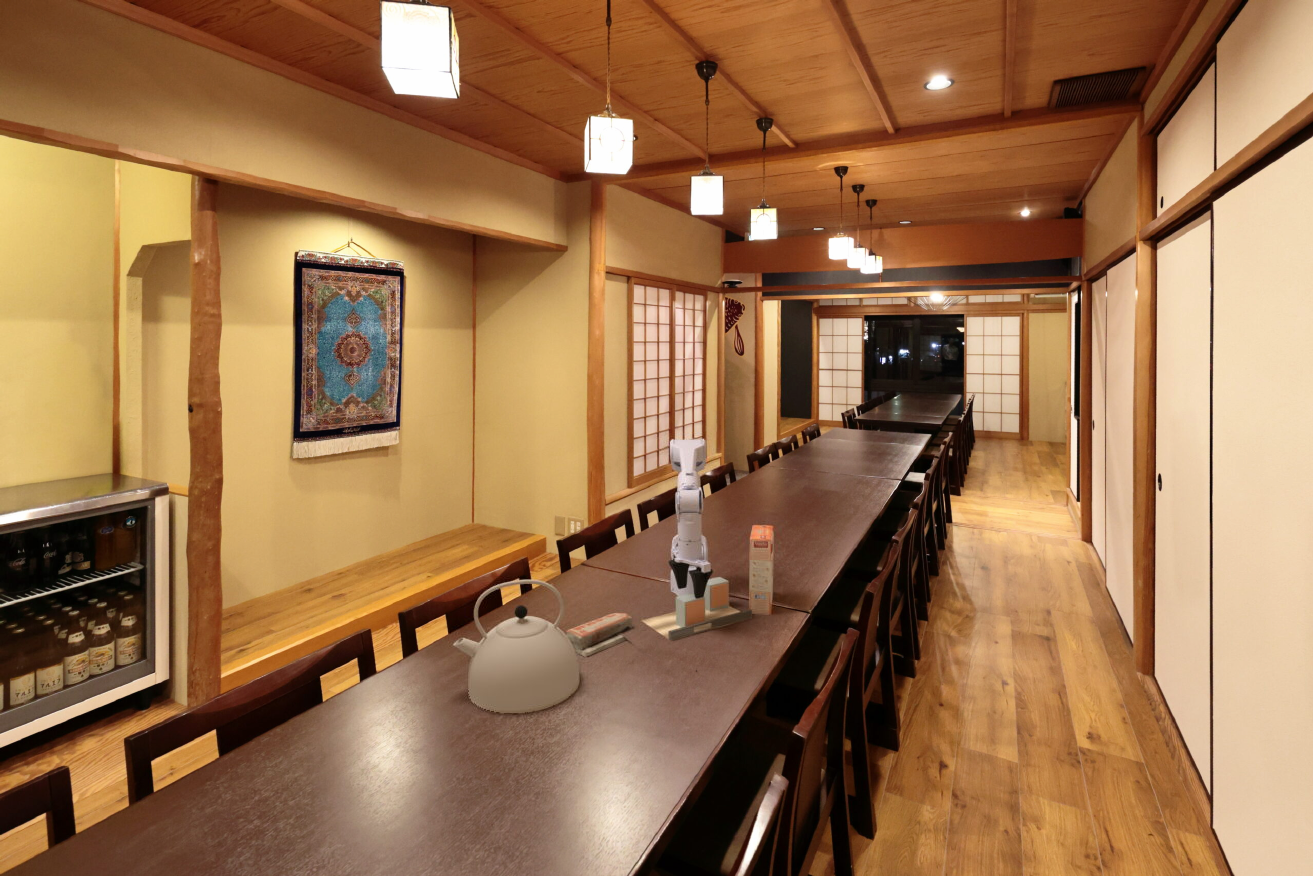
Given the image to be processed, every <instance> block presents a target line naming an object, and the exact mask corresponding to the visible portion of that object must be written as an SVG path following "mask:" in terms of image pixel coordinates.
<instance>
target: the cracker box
mask: <svg viewBox="0 0 1313 876" xmlns="http://www.w3.org/2000/svg"><path fill="white" fill-rule="evenodd" d="M774 536H775V535H774V526H773V525H769V524H764V525H760V524H754V525H752V528H751V533H750V536H749V575H748V577H749V578H748V579H749V583H748V585H749V587H748V588H749V591H748V593H749V595H748V597H749V598H748V599H749V600H748V601H749V602H748V609H751V610H752V615H766V616H767V615H770V616H771V615H772V610H773V599H774V561H775V560H774V555H775V554H774V553H775V552H774V549H775V547H774V545H775V543H774V541H775V540H774V538H775V537H774Z"/></svg>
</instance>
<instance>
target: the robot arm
mask: <svg viewBox="0 0 1313 876" xmlns="http://www.w3.org/2000/svg"><path fill="white" fill-rule="evenodd" d="M669 455H670V456H669V458H670V466H671V469H672V470H673V471H675V472H677V473H678V476H677V479H676V480H677V488H676V490H677V491H676V492H675V514H676V521H677V534H676V535H675V536H674V537H673V538H672V541H671V549H670V557H671V560H668V565H669V566H670V568H671V570H670V592H672V593H674V594H675V595H676V597H678V596H682V595H686V594H690V593H694V595H695V598H696V599H698V598H702V597H704V593H705V589H706V585H707V582H708V580H709V579H711V576H712V574H713V573H714V570H713V569H712V568H711V563H710V562H709V552H708V551H709V549H708V539H707V537H705V536H704V535H703V534H702V529H703V528H702V513H703V511H704V494H703V489H702V487H701V476H700V474H699V472H702V471H703V470H705V466H706V463H707V462H706V461H707V440H706V439H705V438H702V439H673V438H672V439H671V440H669Z"/></svg>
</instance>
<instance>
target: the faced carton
mask: <svg viewBox="0 0 1313 876" xmlns="http://www.w3.org/2000/svg"><path fill="white" fill-rule="evenodd" d="M729 584H730V581H729V580H727V579H725V578H723V577H721V576H718V577H711V578H709V580H708V582H707V585H706V589H705V593H704V597H705V609H706V610H708V611H710V612H711V611H715V610H719V609H723V608H727V607H729V606H730V585H729Z"/></svg>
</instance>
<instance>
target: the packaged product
mask: <svg viewBox="0 0 1313 876" xmlns="http://www.w3.org/2000/svg"><path fill="white" fill-rule="evenodd" d="M633 621H634V620H633V617H632V616H630V615H629V614H627V612H626V613H624V612H613V613H610V614H607V615H604V616H603V617H599V618H596V619H594V620H590V621H588V622H586V623H583V624H580V625H578V626H575V627H572V628H569V629H567V630H566V631H565V635H566V636H567V637H568V639H569V640H570V642H571V643H572V645H573V647H574V650H575V652H576V654H577V653H578V654H577V655H579V654H580V656H581V655H582V656H581V657H583V656H584V658H587V656H588V657H590V656H591V655H594V654H596V653H599V652H602V651H603V650H604V651H605V650H607V649H609V648H612V647H614V646H616V645H618V644H621V643H623V642H625V641H628V638H627V637H626V636H624V634H623V632H627V631H628V630H629V631H630V630H631V629H633V627H634V626H633ZM641 629H642V627H641V628H640V630H641Z"/></svg>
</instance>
